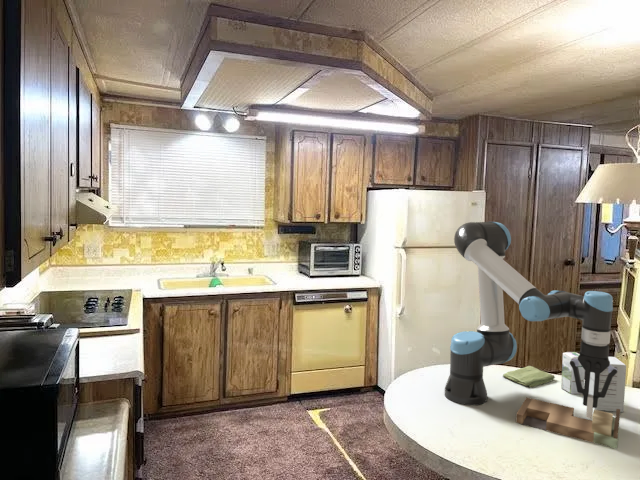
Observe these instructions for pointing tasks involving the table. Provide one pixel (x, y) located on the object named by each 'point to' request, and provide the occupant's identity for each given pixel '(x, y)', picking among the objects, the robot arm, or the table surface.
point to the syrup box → (571, 373)
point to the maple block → (602, 422)
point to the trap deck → (564, 422)
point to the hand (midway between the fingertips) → (589, 416)
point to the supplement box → (611, 387)
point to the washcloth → (529, 376)
